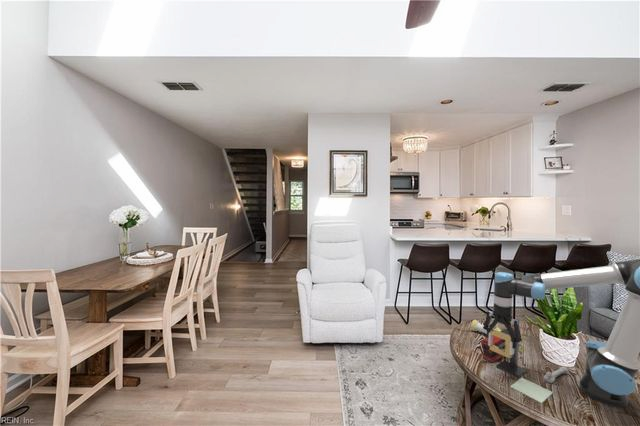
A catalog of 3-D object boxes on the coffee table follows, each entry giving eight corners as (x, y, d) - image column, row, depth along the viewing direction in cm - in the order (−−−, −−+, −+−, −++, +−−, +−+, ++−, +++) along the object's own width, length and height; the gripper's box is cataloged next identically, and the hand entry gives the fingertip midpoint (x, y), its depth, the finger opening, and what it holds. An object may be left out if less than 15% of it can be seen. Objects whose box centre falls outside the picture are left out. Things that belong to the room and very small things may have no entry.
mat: (552, 393, 123) (552, 392, 123) (541, 403, 116) (541, 402, 116) (522, 378, 133) (522, 377, 133) (510, 387, 127) (510, 386, 127)
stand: (526, 372, 138) (527, 341, 137) (510, 384, 129) (511, 350, 128) (504, 362, 146) (505, 332, 145) (488, 372, 137) (489, 341, 136)
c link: (512, 356, 132) (513, 336, 131) (509, 358, 130) (510, 338, 130) (492, 348, 139) (493, 329, 139) (489, 349, 138) (490, 330, 138)
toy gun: (521, 352, 154) (518, 328, 152) (492, 370, 146) (489, 345, 144) (511, 347, 159) (508, 324, 157) (483, 365, 151) (480, 340, 149)
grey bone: (541, 380, 131) (551, 385, 128) (542, 370, 131) (552, 374, 128) (560, 375, 139) (569, 379, 136) (561, 364, 139) (570, 368, 136)
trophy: (469, 319, 181) (521, 339, 155) (476, 317, 184) (527, 336, 159) (469, 332, 181) (521, 353, 155) (475, 329, 185) (527, 349, 159)
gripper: (532, 310, 126) (530, 358, 128) (483, 296, 145) (482, 337, 146) (525, 314, 123) (522, 362, 124) (476, 298, 141) (474, 341, 142)
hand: (500, 349), depth 135 cm, fingers closed on c link, 9 cm apart
